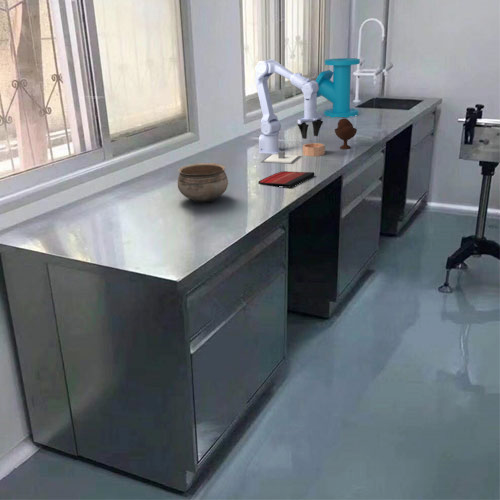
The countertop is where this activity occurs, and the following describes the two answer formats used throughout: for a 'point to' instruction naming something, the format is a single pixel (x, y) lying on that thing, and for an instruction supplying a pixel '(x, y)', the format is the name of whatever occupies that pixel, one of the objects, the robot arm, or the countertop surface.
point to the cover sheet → (281, 158)
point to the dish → (313, 149)
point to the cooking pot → (202, 181)
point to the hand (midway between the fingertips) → (310, 137)
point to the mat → (282, 163)
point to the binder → (286, 178)
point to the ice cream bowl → (345, 132)
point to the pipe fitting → (337, 86)
